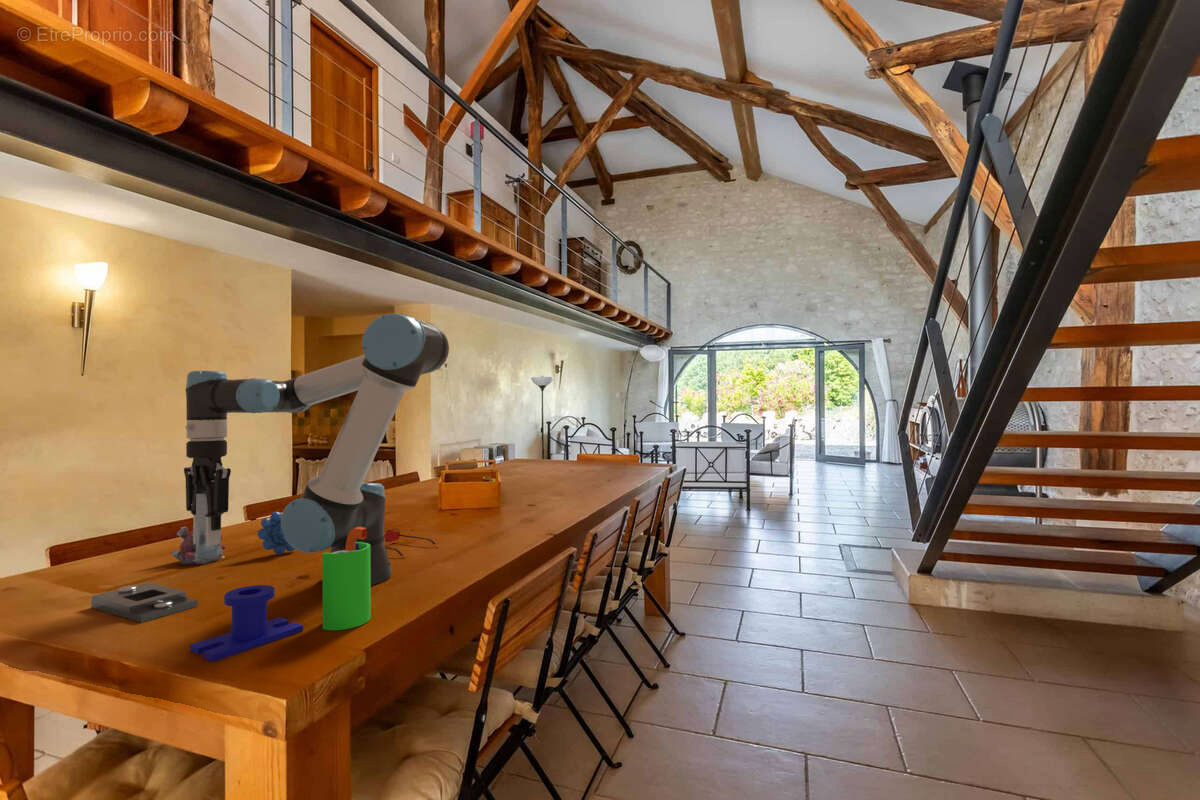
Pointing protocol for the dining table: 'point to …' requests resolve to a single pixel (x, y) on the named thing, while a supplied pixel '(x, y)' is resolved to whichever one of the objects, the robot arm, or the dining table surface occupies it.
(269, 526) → the grapes
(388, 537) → the glasses
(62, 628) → the dining table surface
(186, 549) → the red grey peaked figurine
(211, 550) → the pin
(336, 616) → the green half cylinder
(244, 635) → the mount
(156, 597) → the slotted grey clamp plate
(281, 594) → the dining table surface
